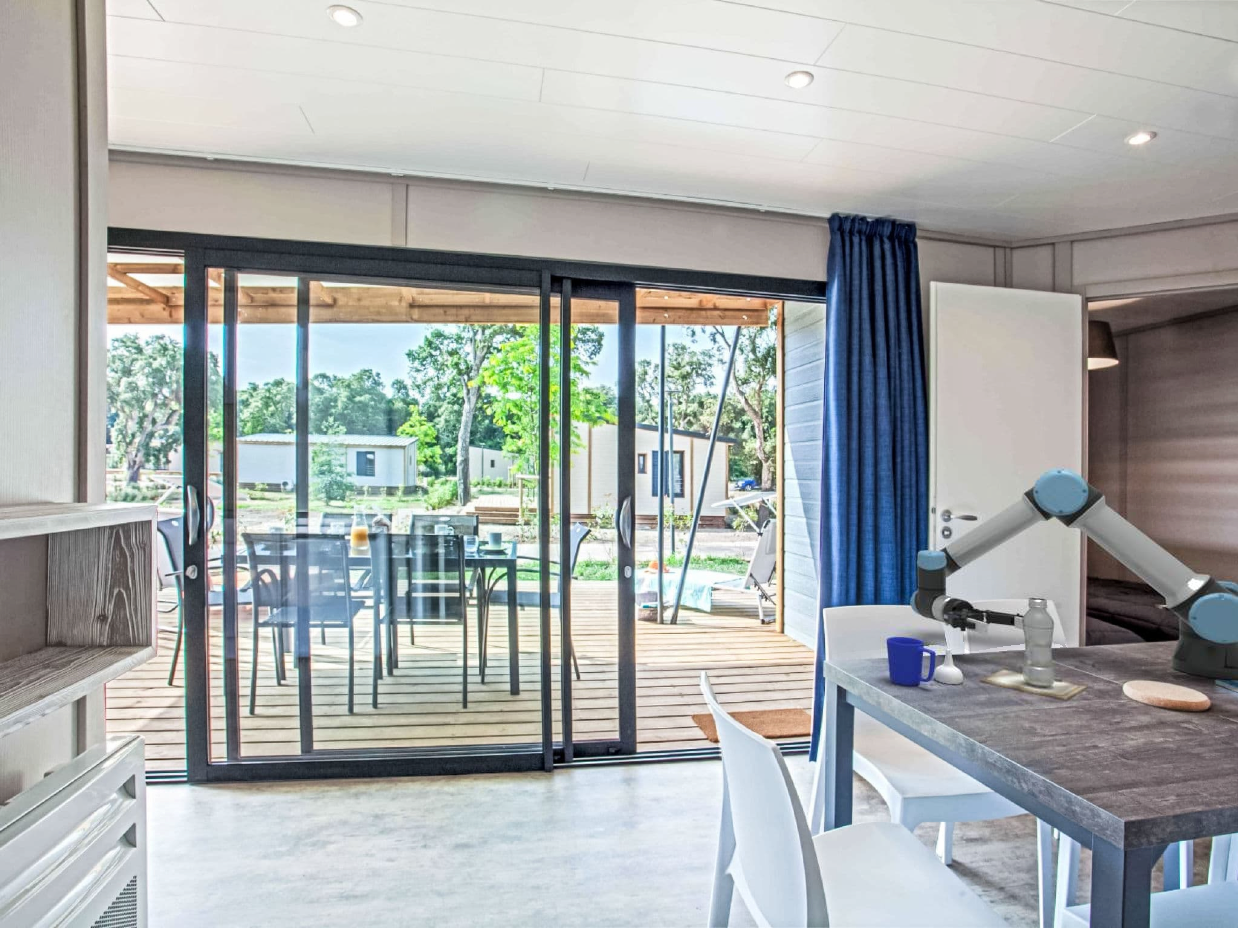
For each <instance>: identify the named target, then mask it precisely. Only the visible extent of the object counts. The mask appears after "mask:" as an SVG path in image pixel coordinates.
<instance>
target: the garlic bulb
mask: <svg viewBox="0 0 1238 928" xmlns="http://www.w3.org/2000/svg"><path fill="white" fill-rule="evenodd" d="M945 651H946V652H945V657H944V662H943V664H940V665H938V666H937V667H935V669H934V674H933V677H934V679H935V681H937V682H938V681H939V682H938V683H941V682H942V683H941V684H944V683H945V684H946V685H952V684H956V685H961V684H962V682H963V680H964V675H963V673H962V671H961V669H960V668H958V667H957V666H955V665H954V660H953V655H952V649H951V648H946V649H945Z"/></svg>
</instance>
